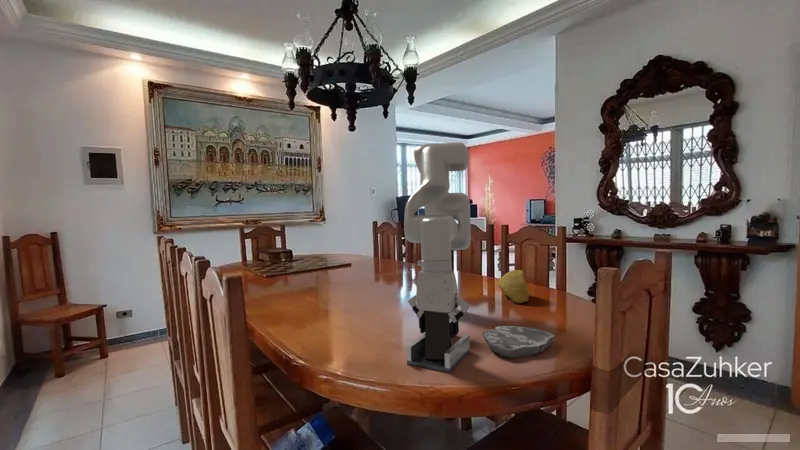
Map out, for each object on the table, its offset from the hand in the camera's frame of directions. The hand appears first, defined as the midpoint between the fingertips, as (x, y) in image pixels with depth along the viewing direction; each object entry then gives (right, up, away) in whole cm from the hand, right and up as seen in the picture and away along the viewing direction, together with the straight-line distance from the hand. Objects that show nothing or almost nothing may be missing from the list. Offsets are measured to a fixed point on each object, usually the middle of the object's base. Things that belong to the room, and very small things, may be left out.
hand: (438, 333), depth 101 cm
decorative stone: (+36, -2, +55) cm, 66 cm away
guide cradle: (0, -6, 0) cm, 6 cm away
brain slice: (+21, -6, +7) cm, 23 cm away
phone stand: (0, -5, +1) cm, 6 cm away
